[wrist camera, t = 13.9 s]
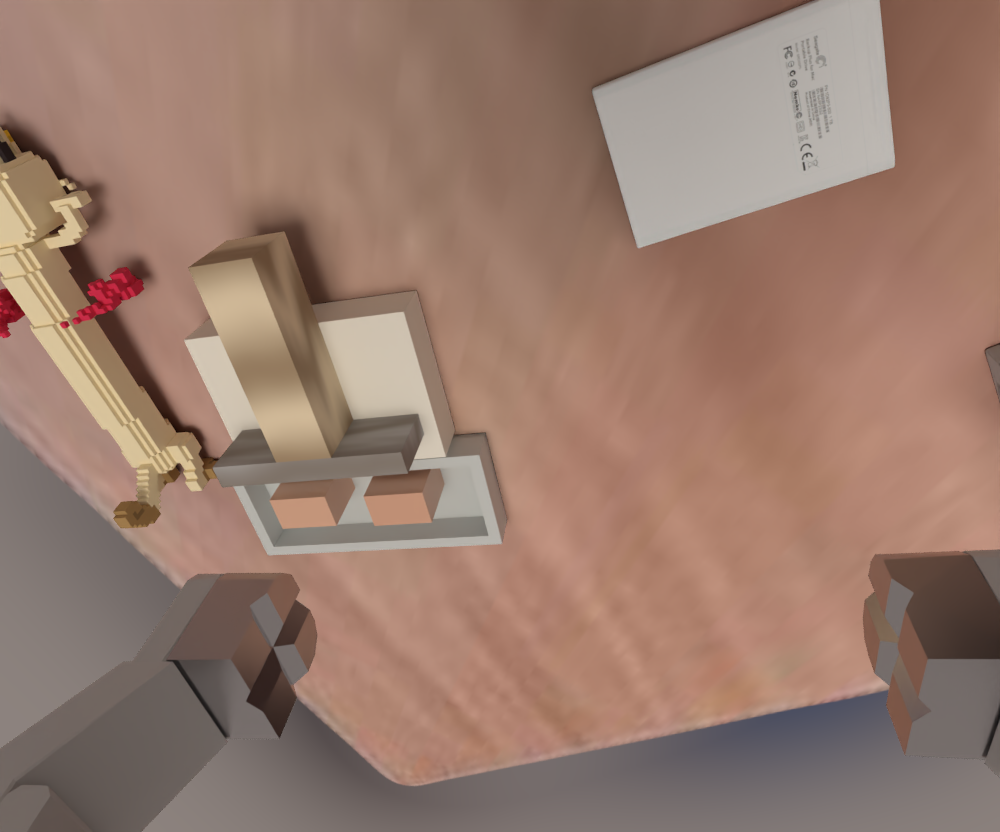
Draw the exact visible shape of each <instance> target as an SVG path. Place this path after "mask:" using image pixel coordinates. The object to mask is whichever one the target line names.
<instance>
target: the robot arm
mask: <svg viewBox="0 0 1000 832" xmlns="http://www.w3.org/2000/svg"><path fill="white" fill-rule="evenodd" d="M868 576H869V579H870V581H871V584H872V586H873V589H874V591H875V592H874V593H873V594H871V595H870V596H869V597H868V598H867V599H865V602H864V612H863V627H864V638H865V643H866V647H867V651H868V655H869V658H870V661H871V664H872V667H873V670H874V673H875V674H876V675H877V676H878V677H880V678H881V679H882V680H883V681H885V682H886V683H887V684H888V685H889V686H890V687H889V693H888V699H887V704H886V706H887V709H888V711H889V714H890V716H891V719H892V722H893V725H894V727H895V730H896V733H897V735H898V738H899V741H900V743H901V746H902V749H903V751H904V754H905V756H922V757H941V758H962V759H981V760H985V764H986V765H987V766H988V767H989V768H990V769H991V770H992V771H993V772H994V773H995V774H996V775H997V776H998V777H999V778H1000V550H977V551H963V552H960V551H949V552H924V553H899V554H875V555H874V557H873V559H872V561H871V563H870V569H869V575H868ZM299 591H300V589H299V587H298V585H297V583H296V582H295V580H294V578H293V576H292V575H291V574H285V573H226V574H197V575H195V576H194V577H192V578H191V579H189V580H188V581H187V582H186V584H185V585H184V586H183V588H182V589H181V591H180V592H179V594H178V595H177V597H176V598H175V600H174V601H173V603H172V604H171V606H170V607H169V608H168V610H167V611H166V613H165V614H164V616H163V617H162V619H161V620H160V622H159V623H158V624H157V626H156V627H155V629H154V630H153V632H152V633H151V635H150V636H149V638H148V639H147V641H146V642H145V643H144V645H143V646H142V648H141V649H140V651H139V652H138V654H137V656H136V657H135V658H134V660H133V661H126V662H125V661H124V662H122V663H121V664H119V665H118V666H116V667H115V668H114V669H112V670H111V671H109V672H108V673H106V674H105V675H104V676H102V677H101V678H99V679H98V680H96V681H95V682H94V683H92V684H91V685H89V686H88V687H87V688H85V689H84V690H82V691H81V692H79V693H78V694H77V695H75V696H74V697H73V698H71V699H70V700H68V701H67V702H65V703H64V704H63V705H61V706H60V707H58V708H57V709H55V710H54V711H53V712H51V713H50V714H49V715H47V716H45V717H44V718H43V719H41V720H40V721H39V722H37V723H36V724H34V725H33V726H31V727H30V728H29V729H27V730H26V731H24V732H23V733H21V734H20V735H19V736H17V737H16V738H14V739H13V740H12V741H10V742H9V743H7V744H6V745H4V746H3V747H2V748H0V832H142V831H143V829H144V828H145V827H146V826H147V825H148V824H149V823H150V822H151V821H152V820H153V819H154V818H155V817H156V816H157V815H158V814H159V813H160V812H161V811H162V810H163V809H164V808H165V807H166V805H168V804H169V803H170V801H172V799H173V798H174V797H175V796H176V795H177V794H178V793H179V792H180V791H181V790H182V789H183V788H184V787H185V786H186V785H187V784H188V783H189V782H190V781H191V780H192V779H193V778H194V777H195V776H196V775H197V774H198V773H199V772H200V771H201V770H202V768H203V767H204V766H205V765H206V764H207V763H208V762H209V761H210V760H211V759H212V758H213V757H214V756H215V755H216V754H217V753H218V752H219V751H220V750H221V749H222V748H223V747H224V746H225V745H226V744H227V740H226V739H280V737H281V734H282V732H283V729H284V727H285V725H286V723H287V720H288V718H289V716H290V713H291V711H292V709H293V706H294V704H295V702H296V699H297V696H296V692H295V689H294V685H293V684H295V683H296V682H297V681H298V680H299V679H300V678H301V677H303V676H304V675H305V674H306V673H307V672H308V671H309V668H310V666H311V663H312V661H313V658H314V656H315V650H316V642H317V630H316V625H315V620H314V618H313V616H312V614H311V611H310V610H309V609H308V608H306V607H305V606H304V605H302V604H301V603H299V602H298V601H297V600H296V598H297V596H298V593H299Z"/></svg>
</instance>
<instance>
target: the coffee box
mask: <svg viewBox="0 0 1000 832" xmlns="http://www.w3.org/2000/svg"><path fill="white" fill-rule="evenodd" d="M985 352H986V356H987V360H988V363H989V367H990V370H991V374H992V377H993V380H994V384H995V387H996V391H997V394H998V397H999V401H1000V344H999V345H996V346H994V347H991V348H988V349H987V350H986V351H985Z"/></svg>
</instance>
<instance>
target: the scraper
mask: <svg viewBox="0 0 1000 832" xmlns="http://www.w3.org/2000/svg"><path fill="white" fill-rule="evenodd" d="M188 269H189V271H190V273H191V275H192V277H193V280H194V282H195V284H196V286H197V288H198V291H199V293H200V295H201V297H202V299H203V302H204V304H205V306H206V308H207V311H208V313H209V315H210V317H211V319H212V322H213V324H214V326H215V328H216V330H217V333H218V335H219V337H220V339H221V342H222V344H223V346H224V348H225V350H226V353H227V355H228V357H229V359H230V361H231V364H232V366H233V368H234V370H235V372H236V375H237V377H238V379H239V381H240V384H241V386H242V388H243V390H244V392H245V395H246V397H247V399H248V401H249V403H250V406H251V408H252V410H253V412H254V415H255V417H256V419H257V421H258V423H259V426H260V428H261V429H250V430H242V431H241V433H240V434H239V435H238V436H237V438H236V439H235V440H234V441H233V443H232V444H231V445H230V446H229V448H228V449H227V450H226V451H225V452H224V454H223V455H222V456H221V457H220V459H219V460H218V461H217V462H216V464H215V465H214V466H213V467H212V468H213V470H214V472H215V474H216V476H217V478H218V480H219V482H220V484H221V486H222V487H234V486H248V485H261V484H274V483H288V482H301V481H315V480H328V479H342V478H355V477H369V476H382V475H396V474H408V472H409V470H410V467H411V465H412V463H413V460H414V458H415V455H416V453H417V450H418V448H419V445H420V443H421V441H422V438H423V436H424V432H423V428H422V425H421V422H420V418H419V415H418V414H409V415H398V416H388V417H377V418H367V419H356V420H353V417H352V415H351V412H350V409H349V407H348V404H347V401H346V398H345V396H344V393H343V390H342V387H341V385H340V382H339V379H338V376H337V374H336V371H335V368H334V365H333V363H332V360H331V357H330V354H329V352H328V349H327V346H326V344H325V341H324V338H323V335H322V333H321V330H320V327H319V324H318V322H317V319H316V316H315V313H314V311H313V308H312V305H311V302H310V300H309V297H308V294H307V291H306V289H305V286H304V283H303V280H302V278H301V275H300V272H299V270H298V267H297V264H296V261H295V259H294V256H293V253H292V250H291V248H290V245H289V242H288V239H287V237H286V234H285V231H284V232H278V233H272V234H266V235H259V236H253V237H247V238H241V239H235V240H229V241H226V242H224V243H223V244H221V245H220V246H218V247H217V248H216V249H214V250H213V251H211V252H210V253H208V254H207V255H206V256H204V257H203V258H201V259H200V260H199V261H197V262H196V263H194V264H193V265H191V266H190V267H189V268H188Z"/></svg>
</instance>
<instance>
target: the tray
mask: <svg viewBox="0 0 1000 832" xmlns="http://www.w3.org/2000/svg"><path fill="white" fill-rule="evenodd" d="M437 468H440V470H441V474H442V477H443V480H444V484H445V485H444V488H443V491H442V494H441V497H440V500H439V503H438V506H437V509H436V512H435V515H434V518H433V521H432V523H417V524H399V525H382V526H374V523H373V521H372V518H371V516H370V513H369V510H368V508H367V505H366V502H365V500H364V497H363V496H364V494H365V492H366V490H367V488H368V486H369V484H370V481H371V479H372V477H373V476H369V477H355V478H352V480H353V483H354V485H355V490H354V492H353V494H352V496H351V498H350V500H349V502H348V504H347V506H346V508H345V510H344V512H343V514H342V516H341V518H340V520H339V522H338V524H337V526H324V527H306V528H289V529H283V528H282V526H281V524H280V522H279V520H278V518H277V516H276V514H275V512H274V509H273V507H272V505H271V503H270V501H269V500H270V499H271V497H272V496H273V494H274V492H275V491H276V489H277V488H278V486H279V485H280V483H274V484H261V485H248V486H234V489H235V491H236V493H237V495H238V497H239V499H240V501H241V503H242V505H243V507H244V509H245V511H246V513H247V515H248V517H249V518H250V520H251V522H252V524H253V526H254V528H255V530H256V532H257V534H258V536H259V538H260V540H261V542H262V544H263V546H264V548H265V550H266V552H267V554H268V555H285V554H306V553H326V552H347V551H368V550H388V549H409V548H429V547H450V546H470V545H491V544H502V543H503V538H504V533H505V528H506V523H507V517H506V513H505V509H504V505H503V501H502V497H501V493H500V489H499V485H498V481H497V477H496V473H495V469H494V465H493V461H492V457H491V453H490V449H489V445H488V441H487V437H486V433H476V434H465V435H453V438H452V441H451V444H450V447H449V449H448V452H447V455H446V457H439V458H426V459H414V460H413V463H412V465H411V467H410V470H423V469H437ZM410 470H409V471H410Z"/></svg>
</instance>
